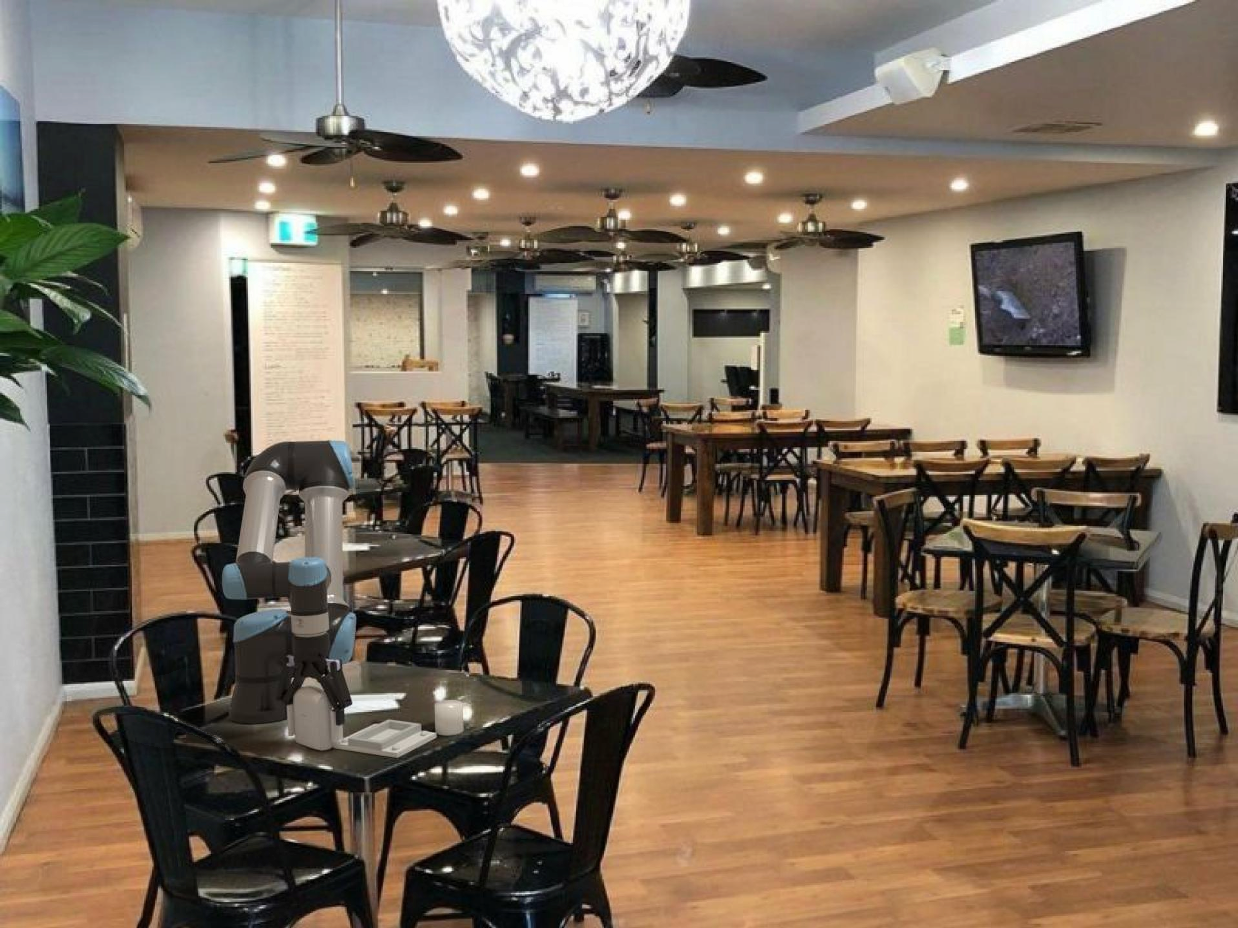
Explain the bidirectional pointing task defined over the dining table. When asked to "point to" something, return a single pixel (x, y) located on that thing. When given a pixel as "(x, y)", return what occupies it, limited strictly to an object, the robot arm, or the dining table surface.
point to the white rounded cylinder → (449, 717)
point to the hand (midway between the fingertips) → (315, 737)
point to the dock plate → (386, 739)
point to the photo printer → (312, 718)
